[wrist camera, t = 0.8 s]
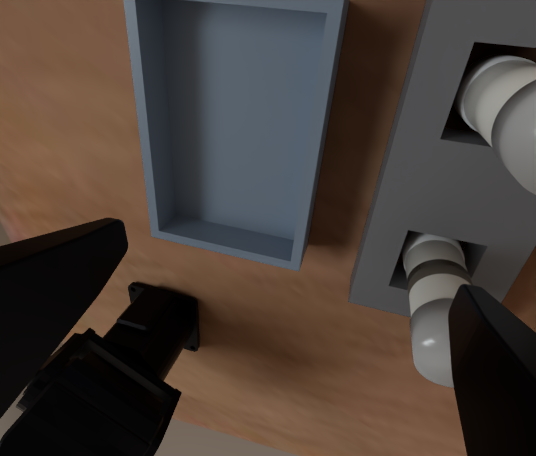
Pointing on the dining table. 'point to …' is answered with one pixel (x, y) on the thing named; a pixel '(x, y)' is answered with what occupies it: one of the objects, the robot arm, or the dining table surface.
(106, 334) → the robot arm
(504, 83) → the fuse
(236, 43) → the parts tray
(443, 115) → the fuse holder
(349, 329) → the dining table surface
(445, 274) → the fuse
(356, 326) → the dining table surface
